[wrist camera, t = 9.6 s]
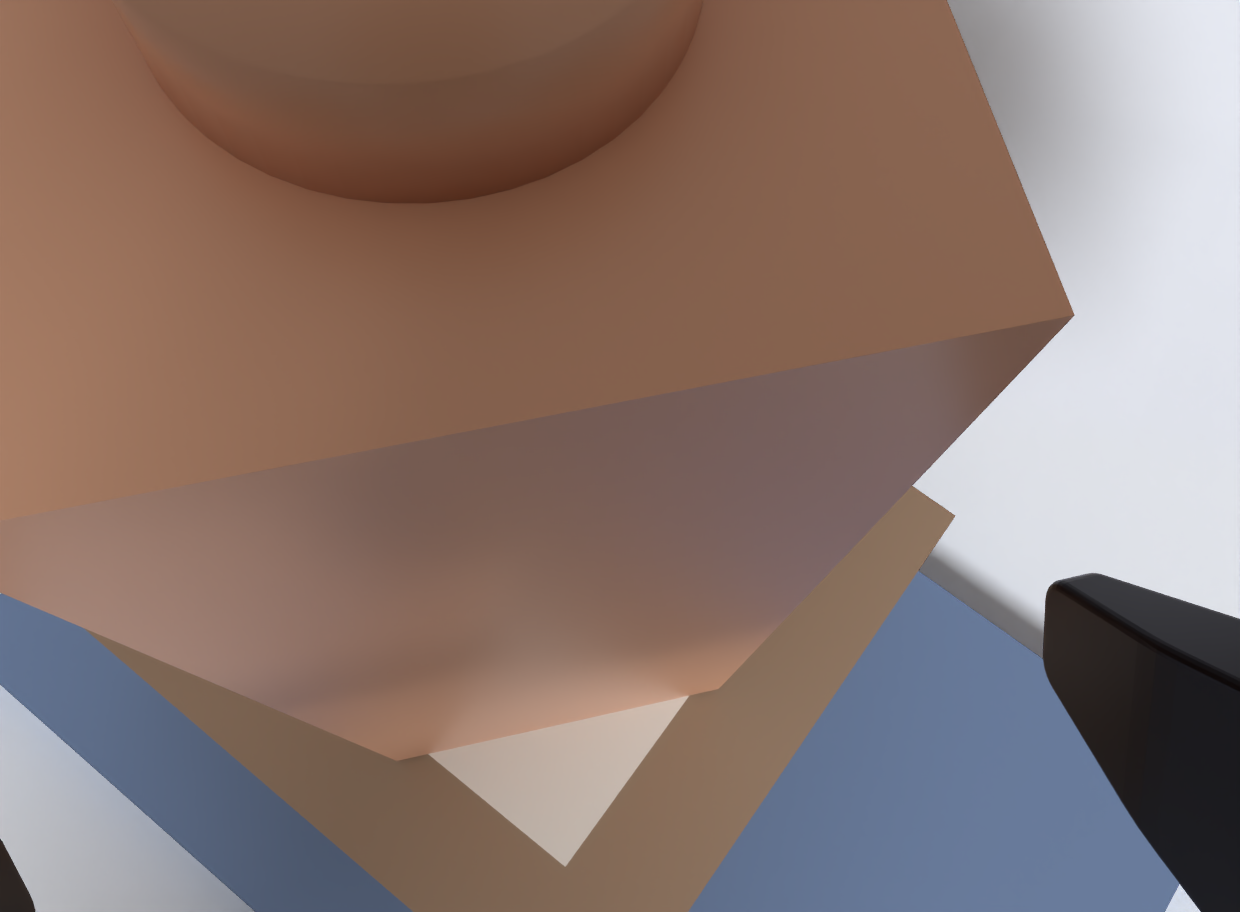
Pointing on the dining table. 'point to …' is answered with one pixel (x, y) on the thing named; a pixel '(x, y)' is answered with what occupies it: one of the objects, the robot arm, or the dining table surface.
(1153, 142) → the dining table surface
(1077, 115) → the dining table surface
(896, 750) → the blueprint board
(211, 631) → the column
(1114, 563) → the dining table surface
